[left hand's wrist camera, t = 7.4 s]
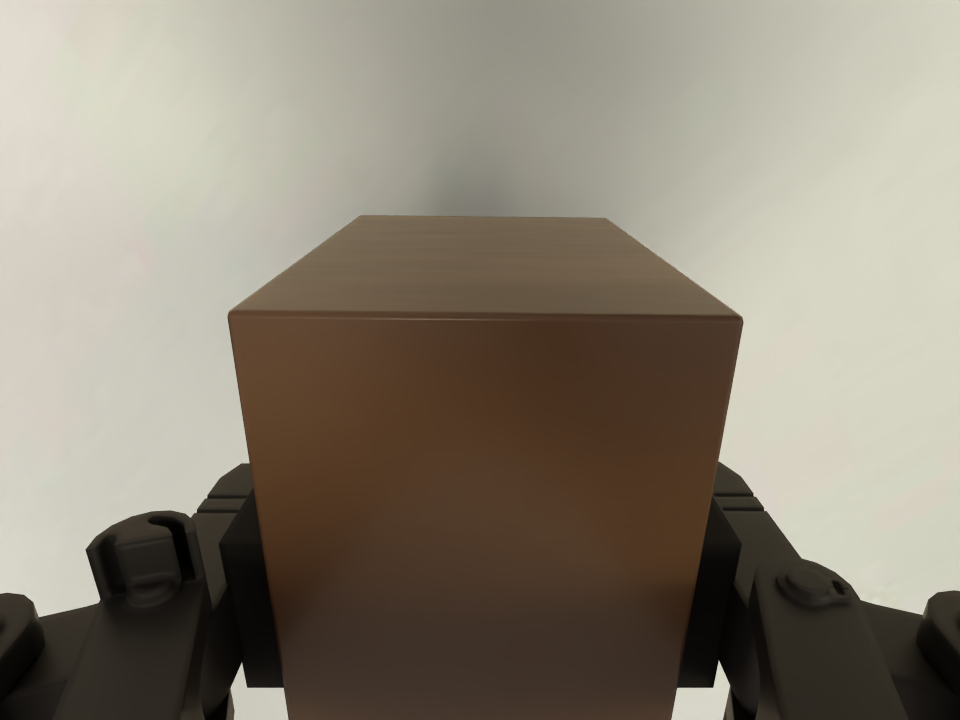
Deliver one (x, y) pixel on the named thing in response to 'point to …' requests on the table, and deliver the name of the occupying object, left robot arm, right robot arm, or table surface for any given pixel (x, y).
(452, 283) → the post
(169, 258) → the table surface
